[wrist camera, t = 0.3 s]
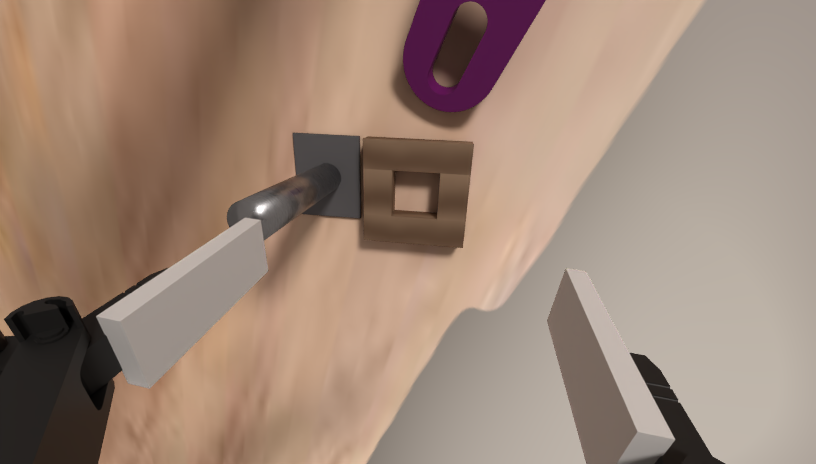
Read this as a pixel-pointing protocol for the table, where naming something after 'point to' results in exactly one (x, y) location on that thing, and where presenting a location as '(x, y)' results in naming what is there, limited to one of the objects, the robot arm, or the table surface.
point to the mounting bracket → (507, 24)
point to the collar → (416, 157)
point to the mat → (344, 158)
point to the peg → (286, 199)
